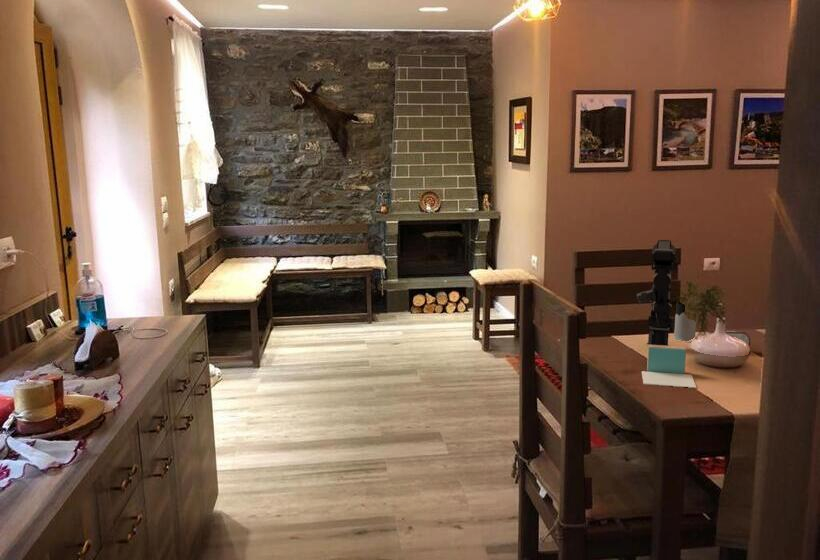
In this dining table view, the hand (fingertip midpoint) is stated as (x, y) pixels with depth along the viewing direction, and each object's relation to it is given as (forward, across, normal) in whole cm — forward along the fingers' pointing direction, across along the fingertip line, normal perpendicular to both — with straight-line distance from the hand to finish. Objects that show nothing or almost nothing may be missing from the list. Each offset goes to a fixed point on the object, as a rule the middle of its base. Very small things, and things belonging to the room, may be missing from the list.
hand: (659, 325), depth 244 cm
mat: (+12, +26, +1) cm, 29 cm away
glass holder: (+12, -32, +12) cm, 36 cm away
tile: (+12, +17, +1) cm, 21 cm away
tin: (+12, -14, +26) cm, 33 cm away
